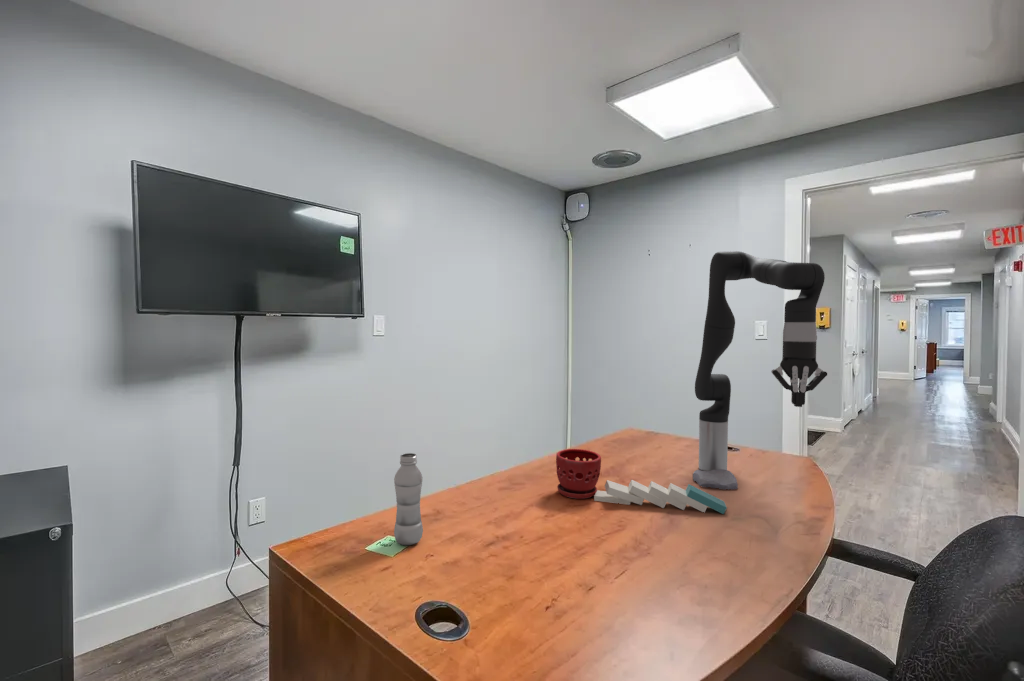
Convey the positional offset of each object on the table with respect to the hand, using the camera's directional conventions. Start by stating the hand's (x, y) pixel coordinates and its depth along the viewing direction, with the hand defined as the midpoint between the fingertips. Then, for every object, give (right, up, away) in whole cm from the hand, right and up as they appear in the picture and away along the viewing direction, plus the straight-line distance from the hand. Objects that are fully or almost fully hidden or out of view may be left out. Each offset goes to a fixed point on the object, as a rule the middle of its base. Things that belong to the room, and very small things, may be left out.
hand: (797, 406), depth 127 cm
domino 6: (-18, -28, +4) cm, 33 cm away
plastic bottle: (-98, -29, -16) cm, 104 cm away
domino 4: (-27, -28, +7) cm, 39 cm away
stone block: (-10, -29, +26) cm, 40 cm away
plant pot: (-55, -29, +17) cm, 64 cm away
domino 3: (-32, -28, +8) cm, 43 cm away
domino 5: (-22, -28, +5) cm, 36 cm away
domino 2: (-38, -27, +10) cm, 48 cm away
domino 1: (-41, -28, +11) cm, 51 cm away
